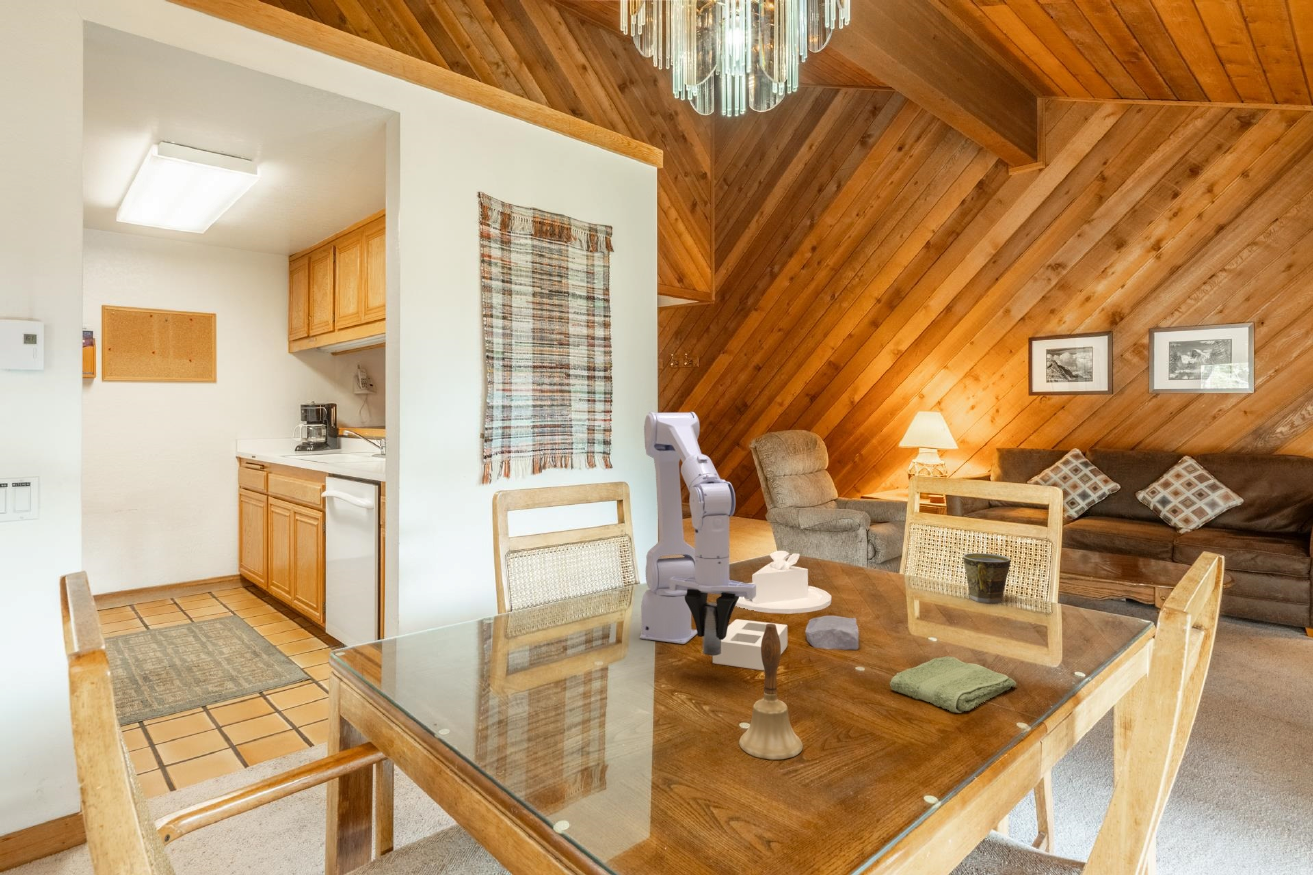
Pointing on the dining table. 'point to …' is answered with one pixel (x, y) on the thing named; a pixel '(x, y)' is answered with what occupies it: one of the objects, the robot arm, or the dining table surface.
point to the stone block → (833, 633)
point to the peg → (711, 629)
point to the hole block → (746, 644)
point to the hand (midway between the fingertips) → (712, 636)
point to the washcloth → (951, 683)
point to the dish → (784, 588)
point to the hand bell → (770, 711)
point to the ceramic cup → (986, 576)
